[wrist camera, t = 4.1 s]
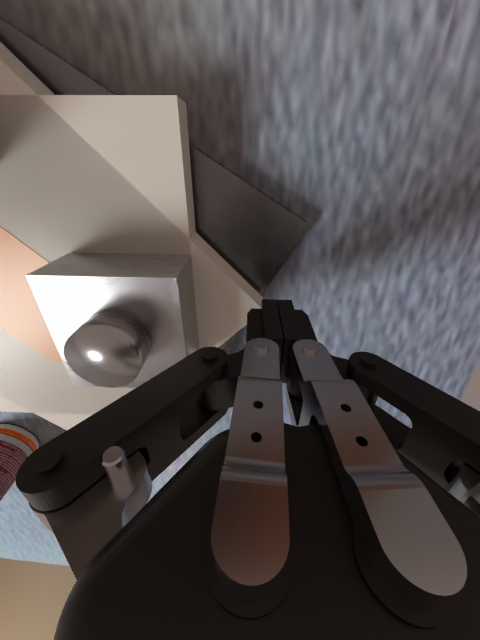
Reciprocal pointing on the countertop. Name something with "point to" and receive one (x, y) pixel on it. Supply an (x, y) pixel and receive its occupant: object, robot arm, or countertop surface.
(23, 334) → the turntable
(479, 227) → the countertop surface
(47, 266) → the cover
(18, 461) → the pill bottle
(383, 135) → the countertop surface
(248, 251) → the base
